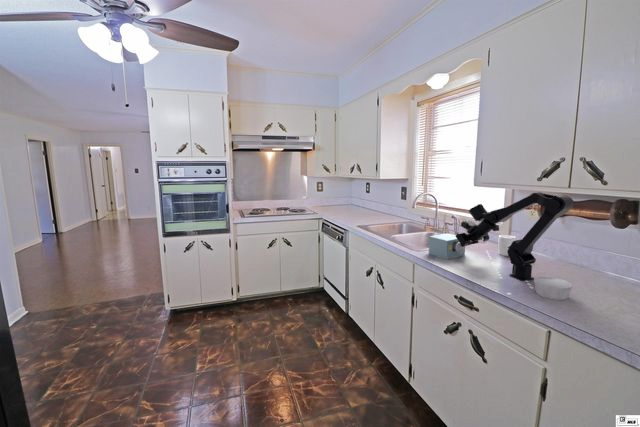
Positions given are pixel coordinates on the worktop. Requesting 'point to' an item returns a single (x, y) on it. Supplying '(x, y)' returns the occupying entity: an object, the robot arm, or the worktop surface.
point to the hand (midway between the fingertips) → (461, 245)
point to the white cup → (505, 243)
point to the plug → (458, 247)
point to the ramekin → (552, 288)
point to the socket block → (443, 246)
